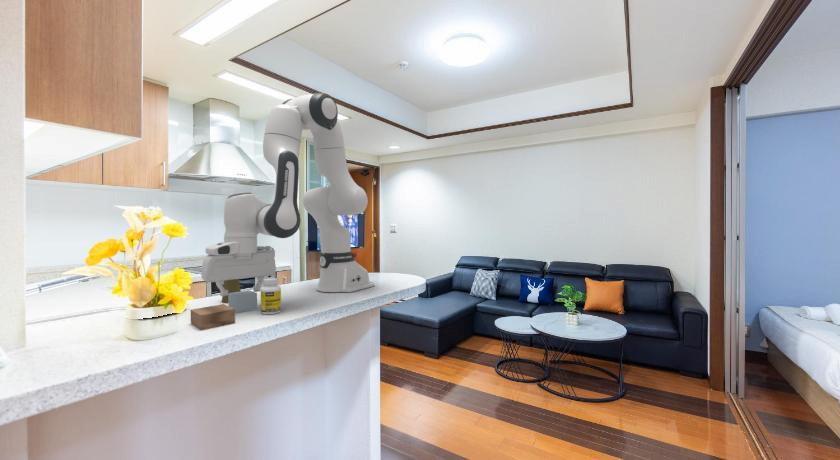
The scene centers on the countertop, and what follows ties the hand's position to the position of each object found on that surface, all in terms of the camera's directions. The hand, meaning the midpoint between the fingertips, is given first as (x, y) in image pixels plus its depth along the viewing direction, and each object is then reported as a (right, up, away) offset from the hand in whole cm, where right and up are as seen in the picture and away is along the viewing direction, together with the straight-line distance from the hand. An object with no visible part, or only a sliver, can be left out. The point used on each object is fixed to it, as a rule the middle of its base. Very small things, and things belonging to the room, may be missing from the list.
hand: (241, 293), depth 107 cm
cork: (-9, -5, +12) cm, 16 cm away
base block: (-1, -6, -13) cm, 14 cm away
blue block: (0, -5, +1) cm, 5 cm away
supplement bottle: (+10, -5, -3) cm, 12 cm away
